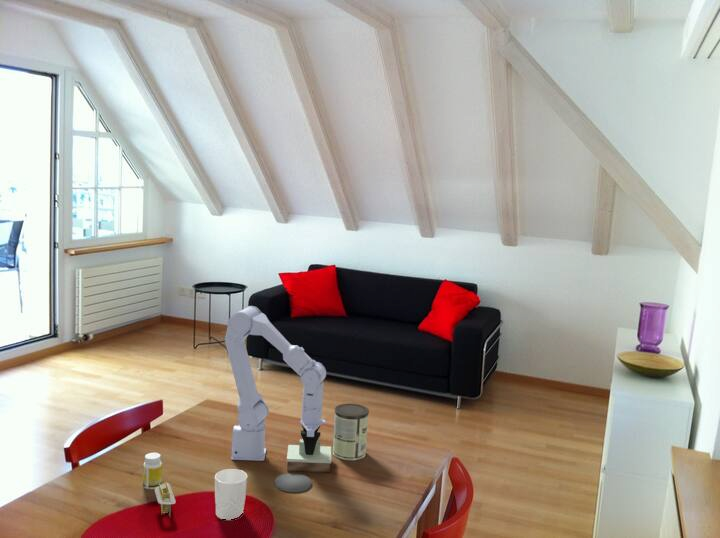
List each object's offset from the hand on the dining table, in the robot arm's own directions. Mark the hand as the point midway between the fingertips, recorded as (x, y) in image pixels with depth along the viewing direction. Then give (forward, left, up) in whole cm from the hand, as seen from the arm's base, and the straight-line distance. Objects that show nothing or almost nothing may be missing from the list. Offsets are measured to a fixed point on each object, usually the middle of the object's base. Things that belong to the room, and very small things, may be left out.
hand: (309, 450), depth 205 cm
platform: (-35, -28, -5) cm, 46 cm away
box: (0, 0, -4) cm, 4 cm away
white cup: (-19, -29, -5) cm, 35 cm away
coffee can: (+12, +9, -5) cm, 16 cm away
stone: (-4, -12, -4) cm, 13 cm away
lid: (0, 0, -1) cm, 1 cm away
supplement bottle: (-41, -16, -5) cm, 44 cm away
